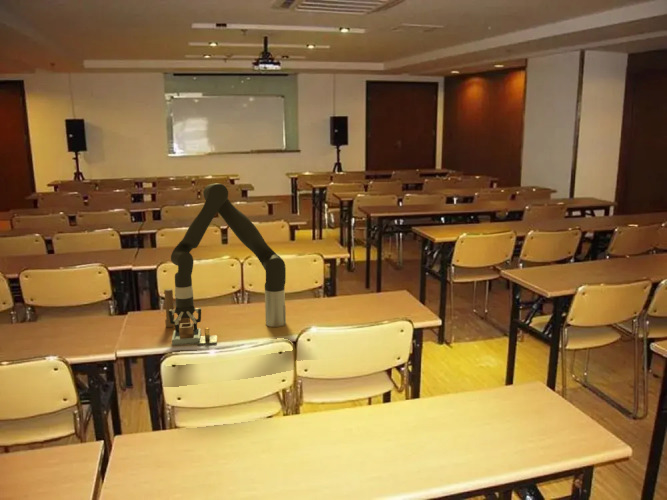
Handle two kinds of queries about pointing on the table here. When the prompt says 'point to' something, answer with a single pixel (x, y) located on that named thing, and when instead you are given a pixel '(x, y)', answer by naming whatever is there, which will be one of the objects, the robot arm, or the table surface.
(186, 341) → the tray
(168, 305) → the brown upright angular piece
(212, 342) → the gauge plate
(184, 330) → the bored block
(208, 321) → the table surface
